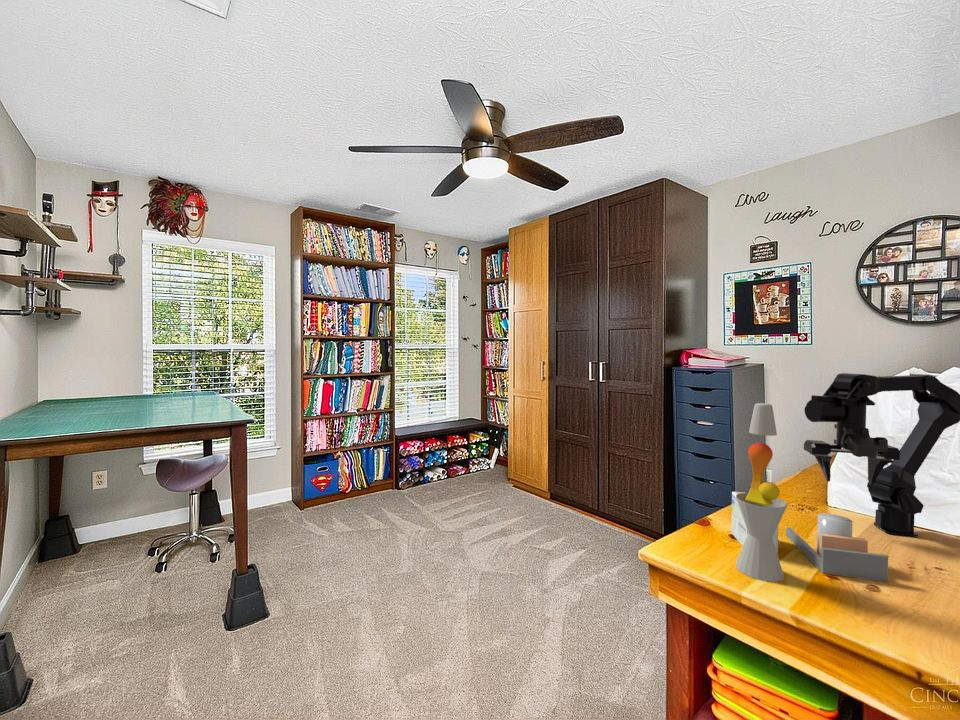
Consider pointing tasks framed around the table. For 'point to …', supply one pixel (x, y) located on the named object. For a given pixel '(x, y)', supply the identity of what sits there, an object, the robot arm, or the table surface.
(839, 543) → the plate
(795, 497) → the table surface
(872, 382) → the robot arm
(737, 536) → the light bulb box
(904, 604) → the table surface
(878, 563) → the pusher lane
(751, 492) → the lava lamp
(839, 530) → the jar
